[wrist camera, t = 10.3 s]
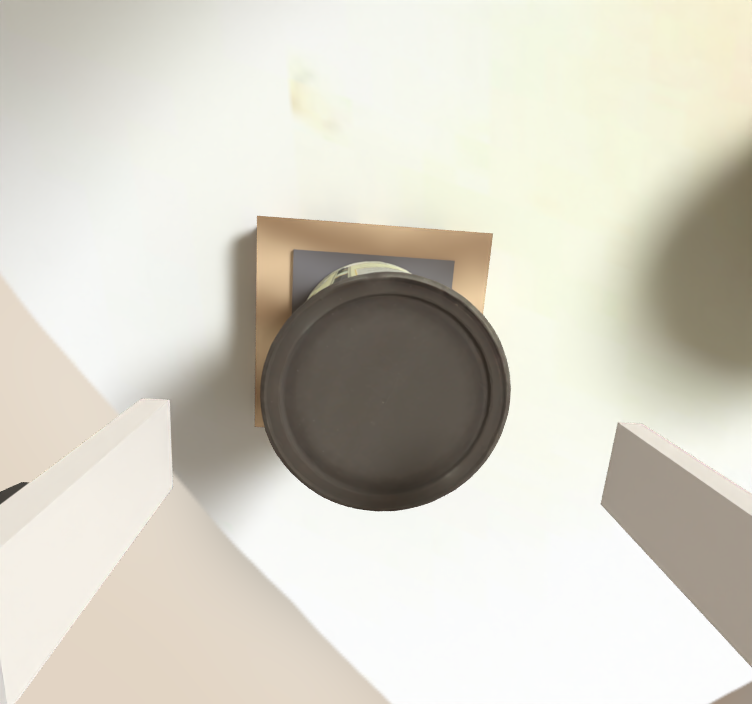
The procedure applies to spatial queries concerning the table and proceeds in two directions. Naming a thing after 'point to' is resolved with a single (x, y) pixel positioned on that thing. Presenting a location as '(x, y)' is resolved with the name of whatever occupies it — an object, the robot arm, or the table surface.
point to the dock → (347, 246)
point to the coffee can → (384, 389)
